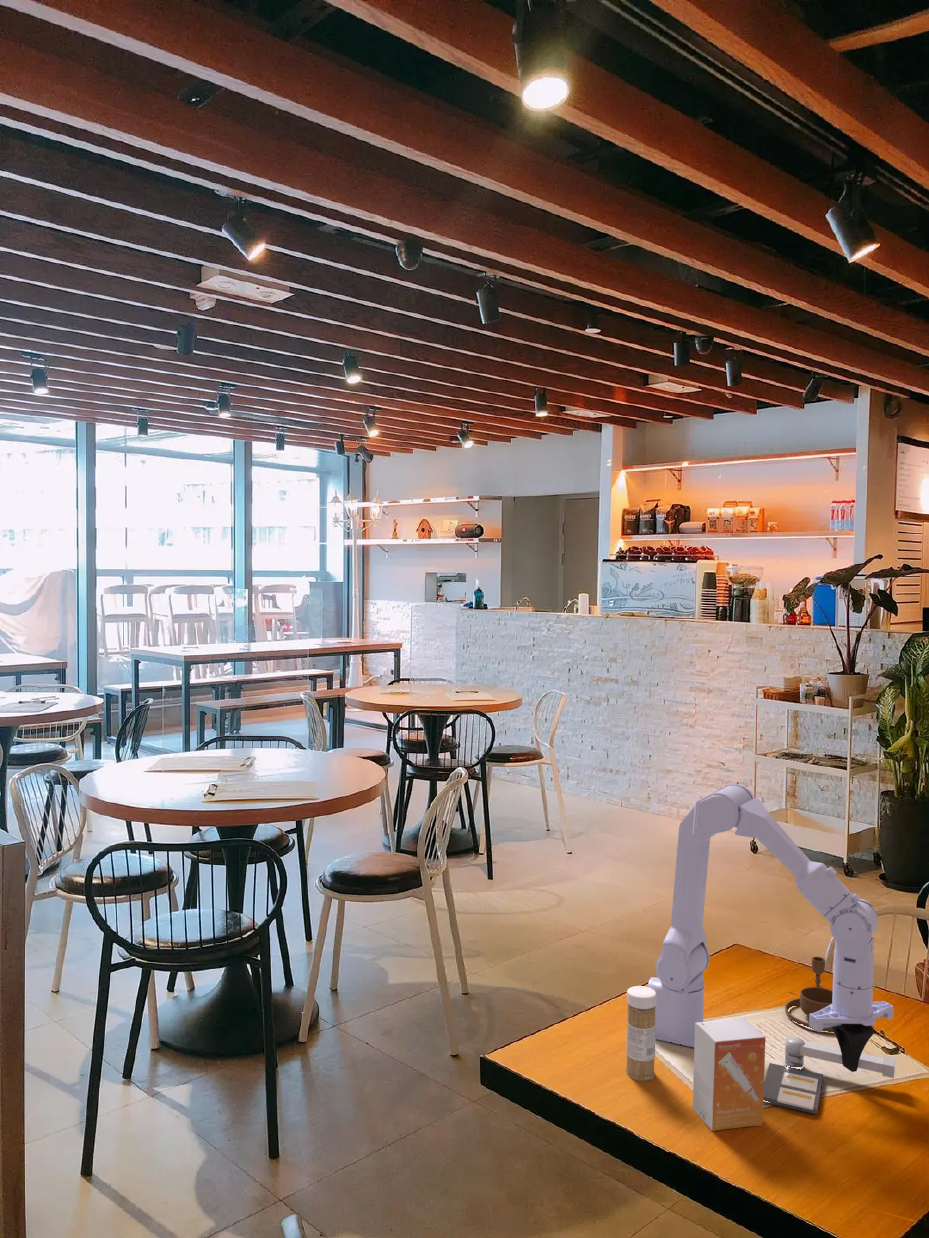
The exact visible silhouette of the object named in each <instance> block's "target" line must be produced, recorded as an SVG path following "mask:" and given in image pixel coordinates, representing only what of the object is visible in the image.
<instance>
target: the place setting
mask: <svg viewBox="0 0 929 1238" xmlns="http://www.w3.org/2000/svg"><path fill="white" fill-rule="evenodd" d="M811 970H812V973H814V974H815V979H814V982H815V985H814V986H809V987H804V988H802V989H801V990H800V992H799V998H794V999H791V1000H788V1001H787V1002H786V1003H785V1005H784V1012H785V1014H787V1015H786V1017H787V1016H788V1017H789V1018H791V1019H792V1020H793V1021H795V1022H797V1023H798V1024H803V1025H804V1026H807V1027H810V1026H809V1022H806V1021H804V1020H801V1019H799V1018H797V1017H795V1016H794V1015H793V1014H792V1013H790V1012H788V1009H789V1008H790V1007H792V1006H799V1007H800V1009H801V1011H802V1013H804V1014H805V1015H806V1016H807V1017H808V1016H809V1014H811V1013H815V1012H818V1011H820V1010H821V1009H823V1008H825V1007H827V1006H829V1005H831V1004H832V995H833V989H832V990H831V989H828V988H825V987H822V986H821V983H822V980H821V975H823V974H824V973H825V970H826V959H825V958H823V957H820V956H812V957H811ZM789 994H791V995H792V996H797V993H793V992H792V991H789ZM788 1017H787V1018H788ZM789 1018H788V1019H789ZM870 1026H871V1027H873V1031H874V1030H875V1029H874V1025H870ZM810 1028H811V1027H810ZM812 1029H813V1028H812ZM823 1031H828V1032H834V1031H833V1029H832V1027H827V1028H823Z"/></svg>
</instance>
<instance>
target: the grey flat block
mask: <svg viewBox="0 0 929 1238" xmlns="http://www.w3.org/2000/svg"><path fill="white" fill-rule="evenodd" d="M784 1053H785V1054H784V1055H785V1056H784V1064H785V1063H786V1064H787V1065H788V1066H790V1067H786V1066H785V1065H781V1064H776V1063H771V1062H769V1064H768V1067H767V1071H766V1074H765V1076H764V1096H763V1100H765V1101H768V1102H770V1103H772V1104H771V1105H773V1104H775V1105H774V1106H778V1107H782V1106H783V1108H787V1109H791V1110H795V1111H800V1112H804V1113H808V1114H814V1115H816V1116H817V1115H818V1110H819V1104H820V1098H821V1092H822V1088H821V1086H822V1087H823V1082H822V1079H823V1080H824V1074H823V1073H819V1072H813V1071H810V1070H804V1069H801V1070H800V1069H796V1068H791V1067H802V1066H803V1065H804V1058H805V1056H803V1055H801V1056H794V1055H790V1054H788V1053H787V1052H786V1051H785V1052H784ZM804 1066H805V1065H804ZM804 1066H803V1067H804Z"/></svg>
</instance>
